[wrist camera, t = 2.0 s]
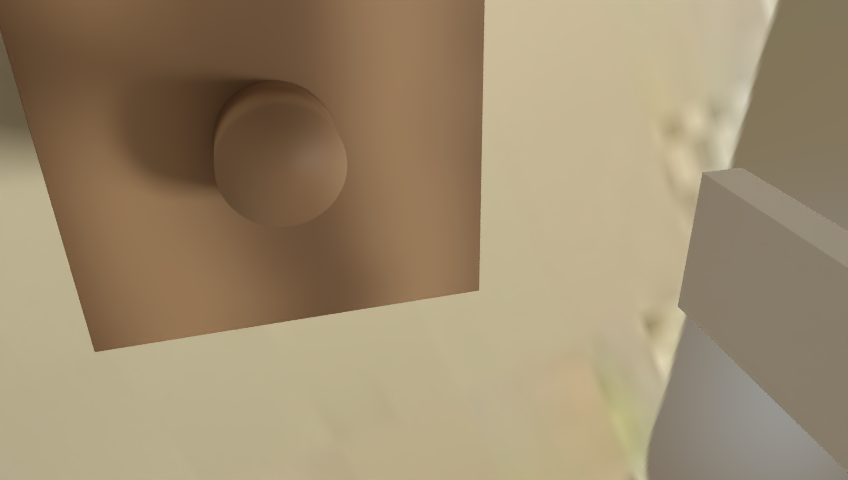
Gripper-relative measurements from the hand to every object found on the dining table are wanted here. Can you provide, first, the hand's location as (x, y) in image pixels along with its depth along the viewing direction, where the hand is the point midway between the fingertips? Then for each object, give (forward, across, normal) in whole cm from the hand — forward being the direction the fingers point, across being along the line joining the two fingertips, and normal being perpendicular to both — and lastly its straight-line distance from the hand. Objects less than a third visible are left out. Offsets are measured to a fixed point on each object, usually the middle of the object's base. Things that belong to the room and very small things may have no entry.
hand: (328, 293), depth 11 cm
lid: (+11, 0, 0) cm, 11 cm away
